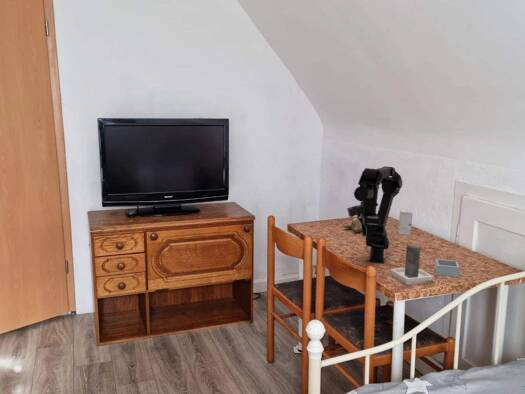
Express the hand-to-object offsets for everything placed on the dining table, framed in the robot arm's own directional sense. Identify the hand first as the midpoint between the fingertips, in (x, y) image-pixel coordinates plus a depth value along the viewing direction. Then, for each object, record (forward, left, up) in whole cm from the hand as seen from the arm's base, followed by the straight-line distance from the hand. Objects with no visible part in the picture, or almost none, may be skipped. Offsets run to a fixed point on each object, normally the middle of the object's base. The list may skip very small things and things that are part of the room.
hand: (366, 238), depth 203 cm
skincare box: (-63, +16, -13) cm, 66 cm away
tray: (+6, +18, -13) cm, 23 cm away
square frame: (-6, +32, -13) cm, 35 cm away
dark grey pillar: (+6, +18, -12) cm, 23 cm away
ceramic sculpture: (-62, -7, -14) cm, 64 cm away
